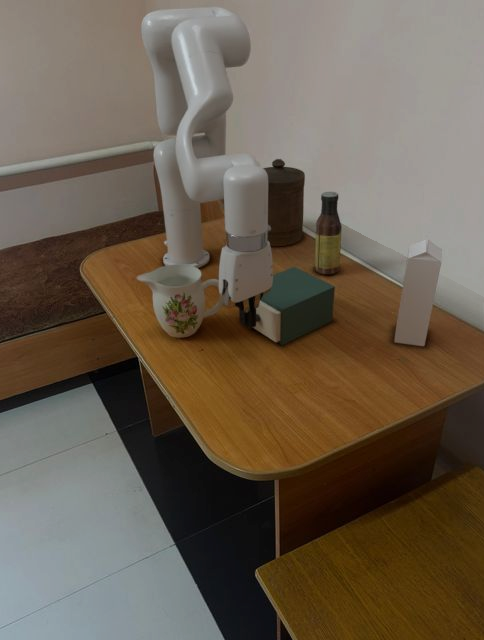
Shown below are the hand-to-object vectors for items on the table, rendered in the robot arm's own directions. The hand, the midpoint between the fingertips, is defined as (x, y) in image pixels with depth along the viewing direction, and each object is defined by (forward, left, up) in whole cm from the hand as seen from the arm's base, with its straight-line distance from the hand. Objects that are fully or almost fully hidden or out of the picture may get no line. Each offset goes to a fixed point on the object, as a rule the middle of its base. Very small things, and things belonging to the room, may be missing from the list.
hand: (247, 324), depth 106 cm
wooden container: (-40, +43, -6) cm, 59 cm away
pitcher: (-15, -5, -6) cm, 17 cm away
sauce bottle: (-15, +38, -6) cm, 41 cm away
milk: (+18, +29, -6) cm, 34 cm away
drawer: (-3, +11, -5) cm, 13 cm away
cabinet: (-3, +14, -6) cm, 15 cm away
